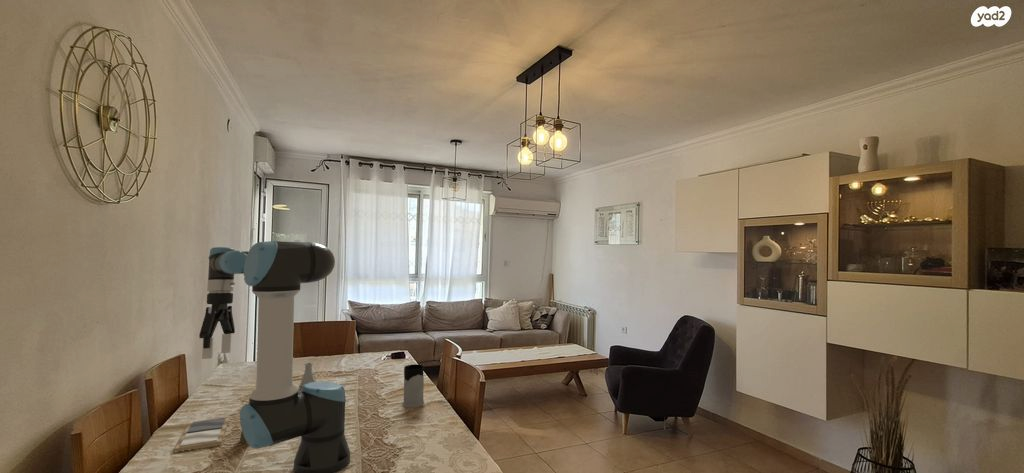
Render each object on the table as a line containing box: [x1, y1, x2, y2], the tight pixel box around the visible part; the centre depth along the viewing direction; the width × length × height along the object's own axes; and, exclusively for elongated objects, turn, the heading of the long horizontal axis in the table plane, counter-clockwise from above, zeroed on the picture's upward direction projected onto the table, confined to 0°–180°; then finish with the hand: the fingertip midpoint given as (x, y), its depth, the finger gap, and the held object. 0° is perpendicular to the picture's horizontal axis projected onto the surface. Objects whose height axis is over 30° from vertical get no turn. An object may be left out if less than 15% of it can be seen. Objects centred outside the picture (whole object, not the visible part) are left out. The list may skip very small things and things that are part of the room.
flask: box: [299, 362, 317, 388], centre depth 201 cm, size 7×7×10 cm
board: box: [173, 416, 231, 453], centre depth 147 cm, size 22×12×2 cm, turn 27°
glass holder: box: [402, 364, 425, 409], centre depth 181 cm, size 9×14×15 cm, turn 36°
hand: (216, 355), depth 149 cm, fingers open, 13 cm apart
